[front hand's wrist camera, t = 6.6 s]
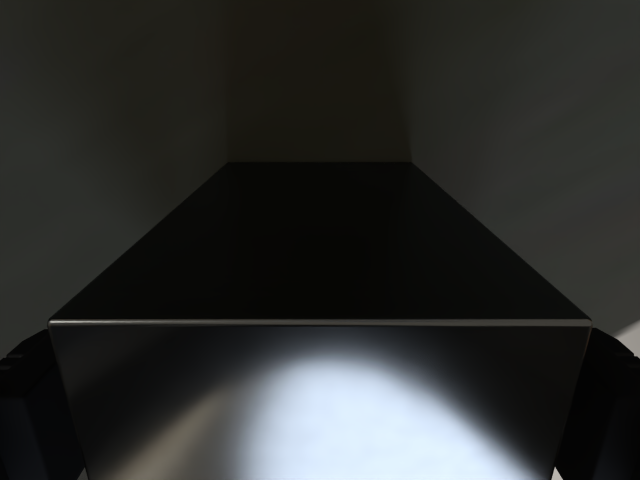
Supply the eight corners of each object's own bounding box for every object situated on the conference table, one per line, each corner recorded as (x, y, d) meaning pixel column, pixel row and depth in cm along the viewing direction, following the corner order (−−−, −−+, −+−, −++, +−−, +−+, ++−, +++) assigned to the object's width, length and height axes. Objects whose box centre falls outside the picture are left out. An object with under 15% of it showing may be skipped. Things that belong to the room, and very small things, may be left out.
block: (413, 161, 15) (597, 320, 5) (399, 336, 18) (502, 669, 8) (226, 161, 15) (41, 321, 5) (240, 336, 17) (136, 669, 8)
